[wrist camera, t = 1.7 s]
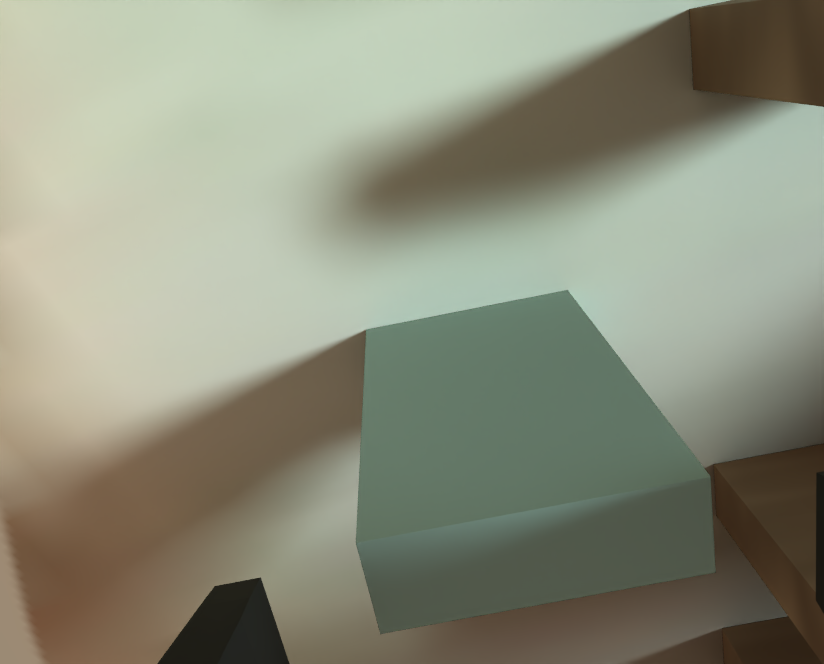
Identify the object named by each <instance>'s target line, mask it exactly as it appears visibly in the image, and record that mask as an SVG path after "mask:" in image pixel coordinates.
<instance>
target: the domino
mask: <svg viewBox="0 0 824 664" xmlns="http://www.w3.org/2000/svg"><path fill="white" fill-rule="evenodd" d="M356 545H357V549H358V553H359V556H360V560H361V564H362V567H363V571H364V575H365V579H366V582H367V586H368V590H369V593H370V597H371V601H372V604H373V608H374V612H375V616H376V619H377V623H378V627H379V630H380V634H383V633H388V632H394V631H399V630H405V629H410V628H416V627H421V626H427V625H432V624H438V623H443V622H449V621H454V620H459V619H465V618H470V617H476V616H481V615H487V614H492V613H498V612H503V611H509V610H514V609H519V608H525V607H530V606H536V605H541V604H547V603H552V602H558V601H563V600H569V599H574V598H580V597H585V596H590V595H596V594H601V593H607V592H612V591H618V590H623V589H629V588H634V587H640V586H645V585H650V584H656V583H661V582H667V581H672V580H678V579H683V578H689V577H694V576H700V575H705V574H711V573H716V570H715V552H714V533H713V514H712V496H711V477H710V475H709V474H708V473H707V471H706V470H705V469H704V467H703V466H702V465H701V464H700V462H699V461H698V460H697V458H696V457H695V456H694V454H693V453H692V452H691V450H690V449H689V448H688V447H687V445H686V444H685V443H684V441H683V440H682V439H681V437H680V436H679V435H678V434H677V432H676V431H675V430H674V428H673V427H672V426H671V424H670V423H669V422H668V420H667V419H666V418H665V417H664V415H663V414H662V413H661V411H660V410H659V409H658V407H657V406H656V405H655V404H654V402H653V401H652V400H651V398H650V397H649V396H648V394H647V393H646V392H645V390H644V389H643V388H642V387H641V385H640V384H639V383H638V381H637V380H636V379H635V377H634V376H633V375H632V374H631V372H630V371H629V370H628V368H627V367H626V366H625V364H624V363H623V362H622V360H621V359H620V358H619V357H618V355H617V354H616V353H615V351H614V350H613V349H612V347H611V346H610V345H609V343H608V342H607V341H606V340H605V338H604V337H603V336H602V334H601V333H600V332H599V330H598V329H597V328H596V327H595V325H594V324H593V323H592V321H591V320H590V319H589V317H588V316H587V315H586V313H585V312H584V311H583V310H582V308H581V307H580V306H579V304H578V303H577V302H576V300H575V299H574V298H573V297H572V295H571V294H570V293H569V291H568V290H566V291H561V292H556V293H551V294H546V295H541V296H536V297H531V298H526V299H520V300H515V301H510V302H505V303H500V304H495V305H490V306H485V307H480V308H475V309H470V310H465V311H460V312H454V313H449V314H444V315H439V316H434V317H429V318H424V319H419V320H414V321H409V322H404V323H399V324H393V325H388V326H383V327H378V328H373V329H368V330H366V345H365V366H364V386H363V407H362V428H361V448H360V469H359V490H358V510H357V531H356Z"/></svg>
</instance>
